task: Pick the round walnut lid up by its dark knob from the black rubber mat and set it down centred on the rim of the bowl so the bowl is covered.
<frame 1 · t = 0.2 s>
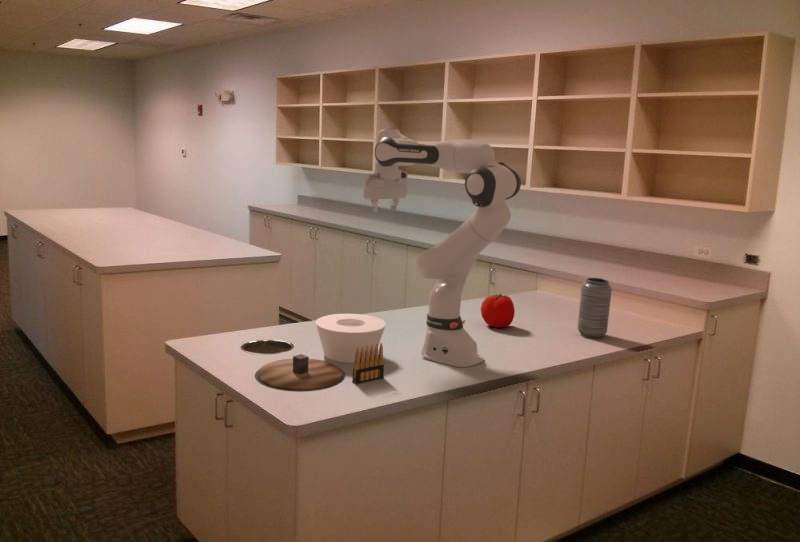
hand: (384, 211, 255), 48 cm above the countertop, fingers open, 8 cm apart
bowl: (349, 356, 237), on the countertop
vase: (591, 335, 278), on the countertop
tomato: (495, 326, 284), on the countertop
mat: (300, 376, 215), on the countertop
lid: (300, 374, 214), point 1 cm above the countertop, touching mat
ammunition clip: (368, 382, 213), on the countertop
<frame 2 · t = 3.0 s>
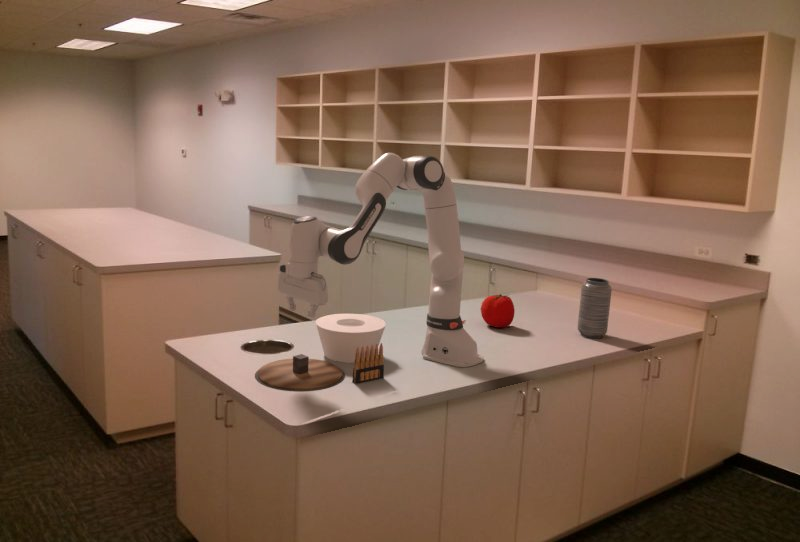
hand: (301, 313, 212), 20 cm above the countertop, fingers open, 8 cm apart
nothing on the countertop moved.
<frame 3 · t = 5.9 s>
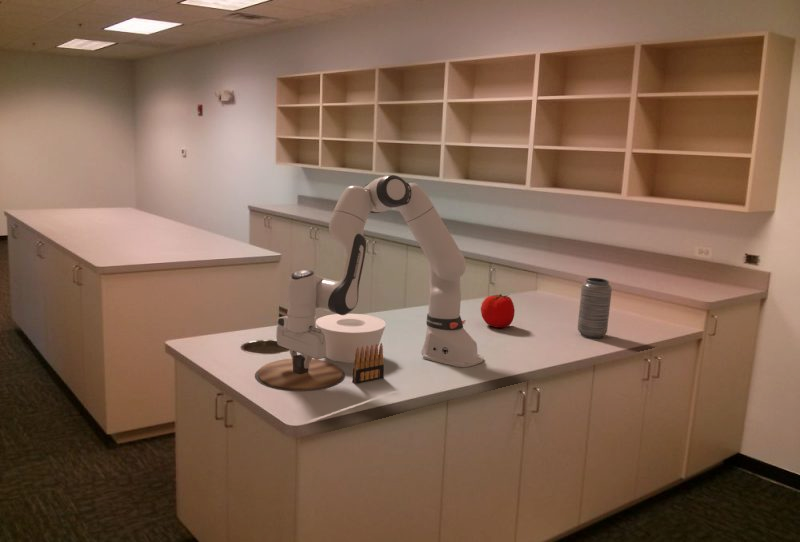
hand: (300, 365, 214), 4 cm above the countertop, fingers closed on lid, 3 cm apart
lid: (300, 374, 214), point 1 cm above the countertop, touching gripper, mat
everything else where it was.
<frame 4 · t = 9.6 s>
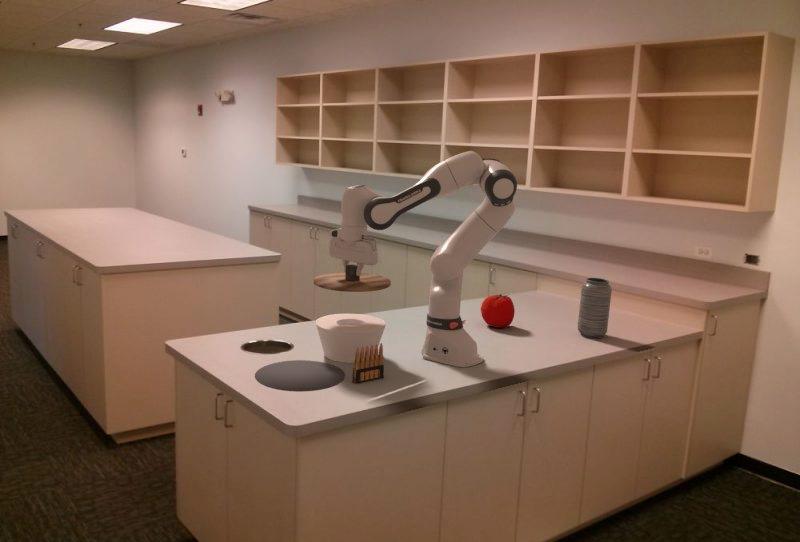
hand: (352, 274, 231), 29 cm above the countertop, fingers closed on lid, 3 cm apart
lid: (352, 283, 232), point 26 cm above the countertop, touching gripper
everything else where it was.
when the fingers open (16 cm above the countertop, at t = 12.7 s): lid drops 1 cm, resting on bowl.
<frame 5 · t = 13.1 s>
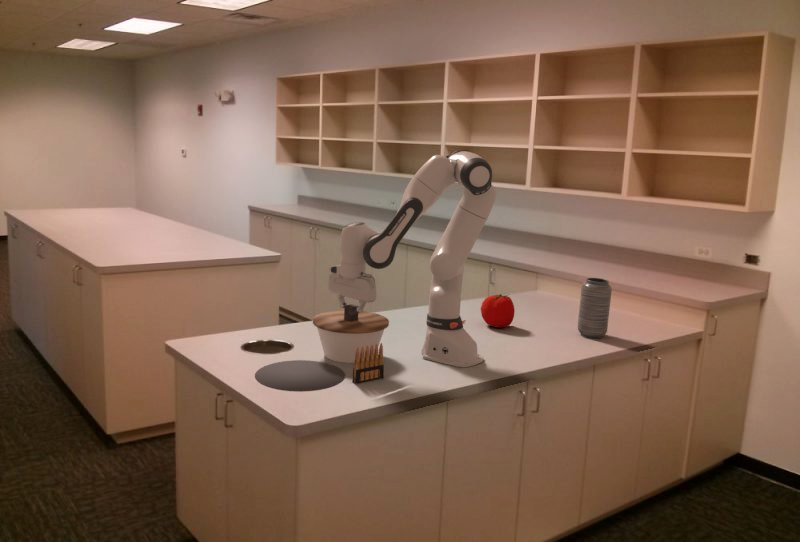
hand: (351, 310, 234), 16 cm above the countertop, fingers open, 7 cm apart
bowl: (349, 356, 237), on the countertop, touching lid
lid: (350, 322, 235), point 12 cm above the countertop, touching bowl
everything else where it was.
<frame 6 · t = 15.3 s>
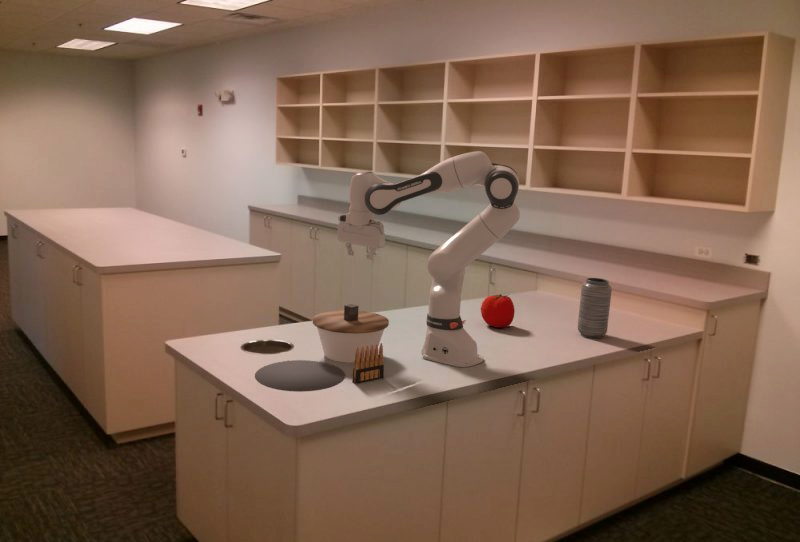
hand: (360, 257, 241), 33 cm above the countertop, fingers open, 8 cm apart
nothing on the countertop moved.
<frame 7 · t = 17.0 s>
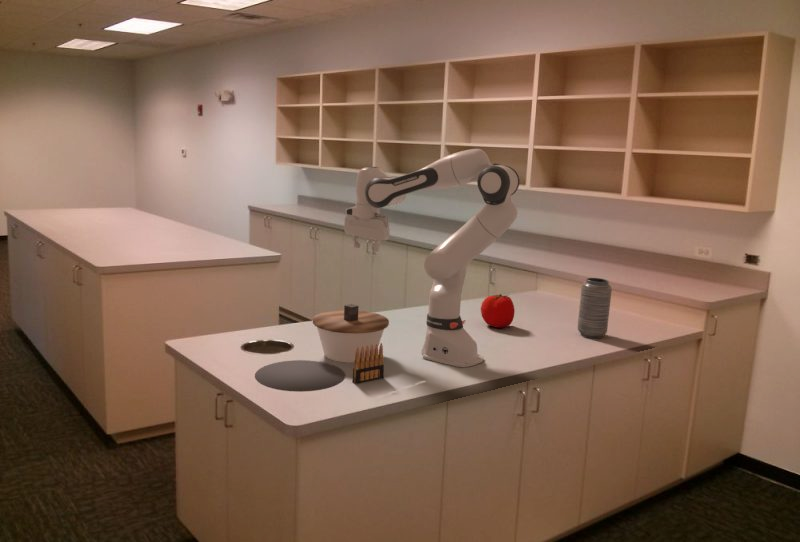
hand: (365, 249, 250), 34 cm above the countertop, fingers open, 8 cm apart
nothing on the countertop moved.
at the end: lid inside the target area on the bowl (0.1 cm from its centre), point 12.2 cm above the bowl's base; lid tilted 0°; the gripper is holding nothing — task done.
